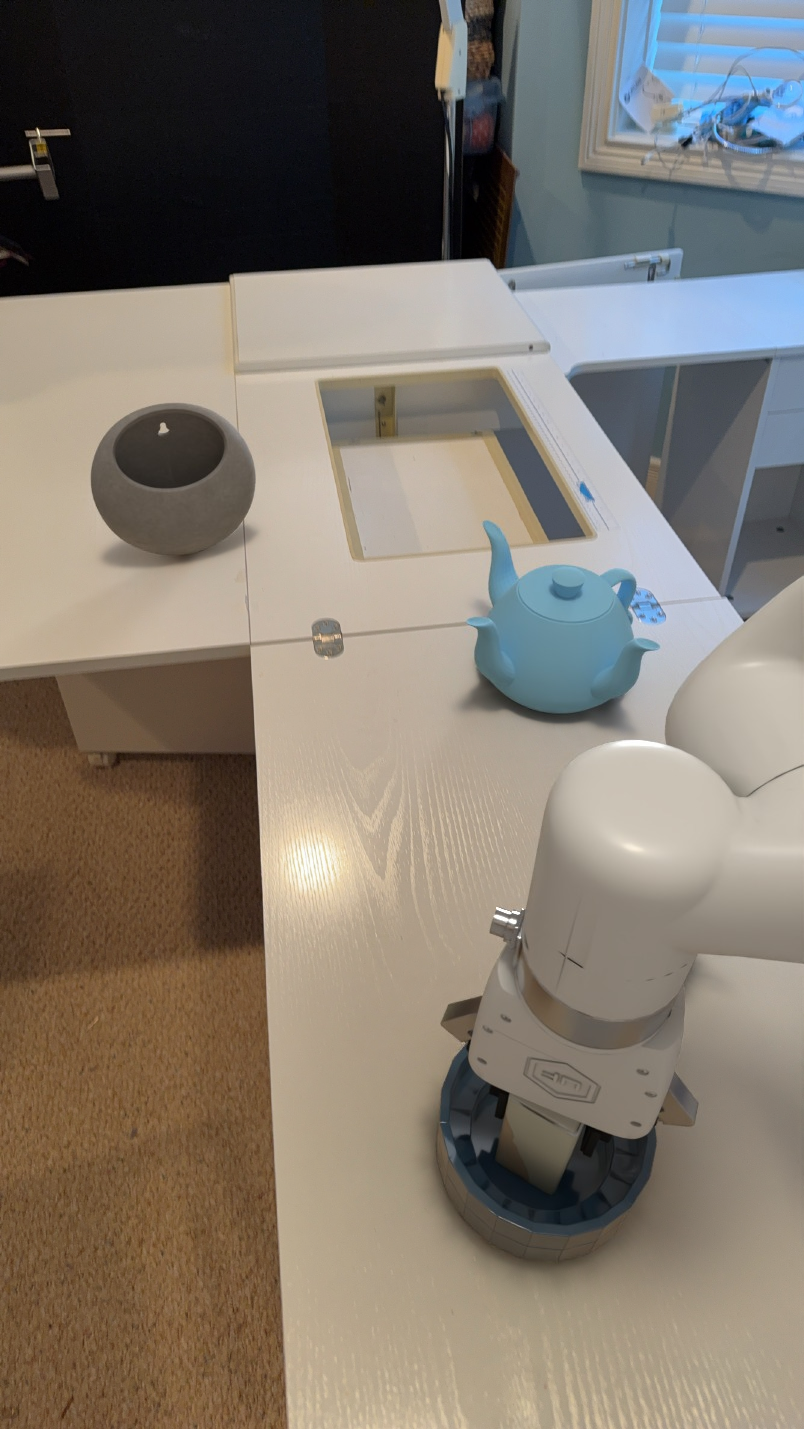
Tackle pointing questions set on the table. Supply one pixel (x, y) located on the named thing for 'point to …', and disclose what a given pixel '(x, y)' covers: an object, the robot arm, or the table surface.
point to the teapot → (557, 634)
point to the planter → (173, 479)
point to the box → (536, 1143)
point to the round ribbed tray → (513, 1206)
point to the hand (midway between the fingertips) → (549, 1112)
